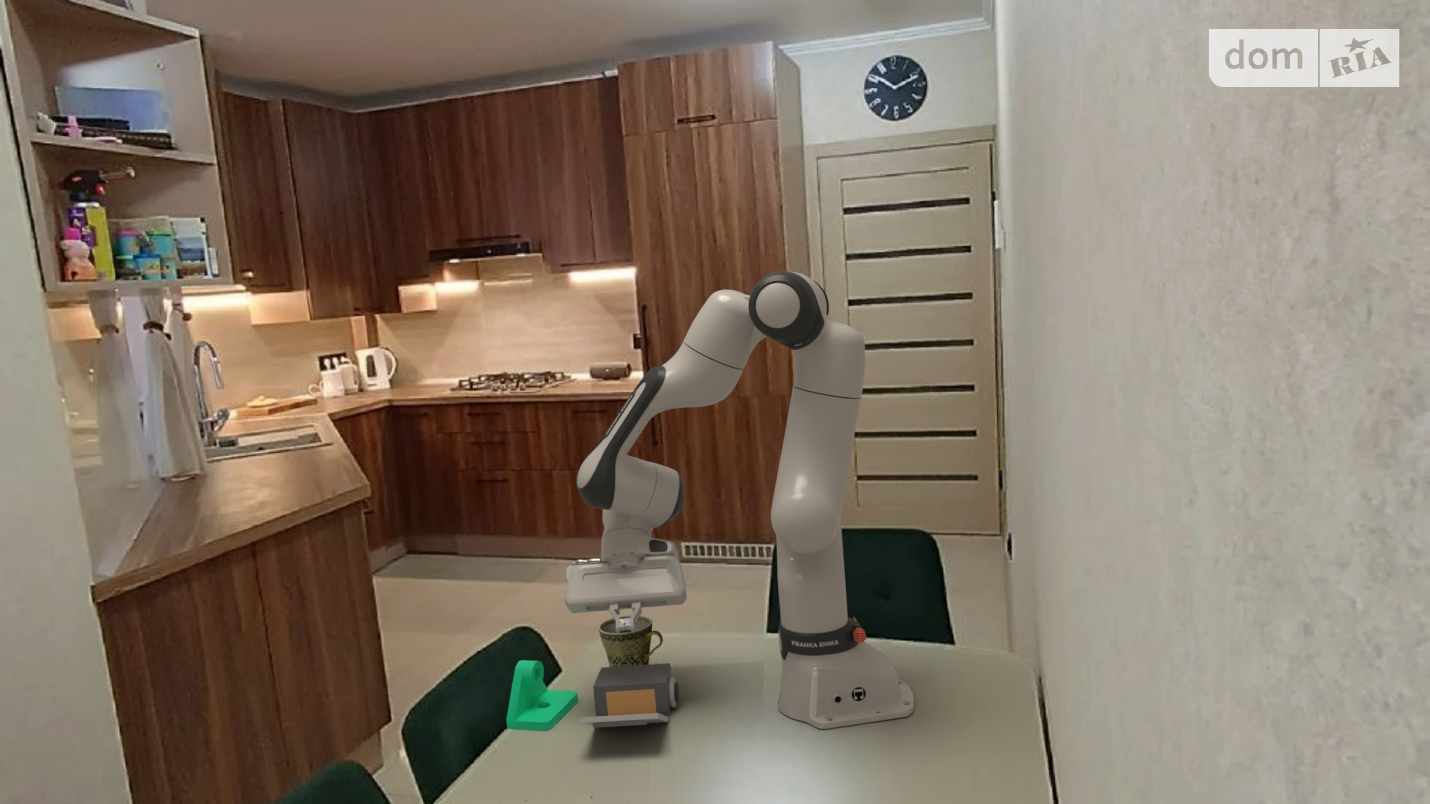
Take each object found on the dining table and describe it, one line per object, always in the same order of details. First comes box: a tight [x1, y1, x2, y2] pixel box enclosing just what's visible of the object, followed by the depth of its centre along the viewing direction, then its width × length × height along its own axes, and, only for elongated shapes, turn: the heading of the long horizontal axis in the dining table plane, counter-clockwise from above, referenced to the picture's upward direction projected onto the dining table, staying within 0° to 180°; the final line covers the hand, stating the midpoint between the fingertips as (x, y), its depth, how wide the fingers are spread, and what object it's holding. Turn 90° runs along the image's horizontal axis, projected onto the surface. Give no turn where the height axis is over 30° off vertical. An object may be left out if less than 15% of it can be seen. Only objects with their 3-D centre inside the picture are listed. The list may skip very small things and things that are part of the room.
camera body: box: [592, 662, 680, 717], centre depth 155 cm, size 13×8×7 cm, turn 88°
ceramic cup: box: [598, 614, 664, 667], centre depth 171 cm, size 13×10×10 cm
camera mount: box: [506, 659, 579, 732], centre depth 156 cm, size 12×8×10 cm, turn 164°
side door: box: [578, 713, 671, 729], centre depth 145 cm, size 12×2×13 cm
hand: (625, 631), depth 149 cm, fingers closed
